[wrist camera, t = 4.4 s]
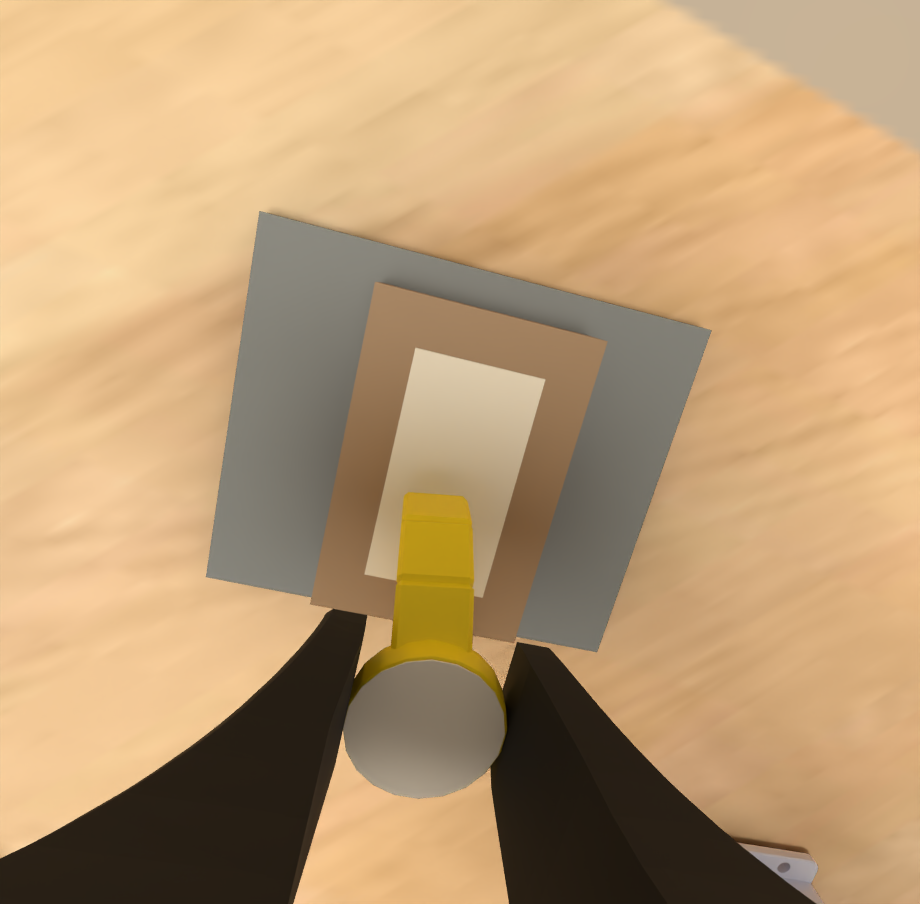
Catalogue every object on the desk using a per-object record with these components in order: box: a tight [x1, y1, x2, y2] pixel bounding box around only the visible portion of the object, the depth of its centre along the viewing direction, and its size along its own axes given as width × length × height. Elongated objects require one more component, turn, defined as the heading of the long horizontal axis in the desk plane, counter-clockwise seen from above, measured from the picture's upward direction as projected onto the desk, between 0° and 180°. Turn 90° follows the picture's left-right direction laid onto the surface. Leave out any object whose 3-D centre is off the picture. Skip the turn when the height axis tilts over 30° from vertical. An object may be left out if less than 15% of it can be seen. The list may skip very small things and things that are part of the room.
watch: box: [343, 492, 507, 799], centre depth 12 cm, size 6×3×6 cm, turn 174°
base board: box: [206, 211, 712, 652], centre depth 17 cm, size 13×11×3 cm
